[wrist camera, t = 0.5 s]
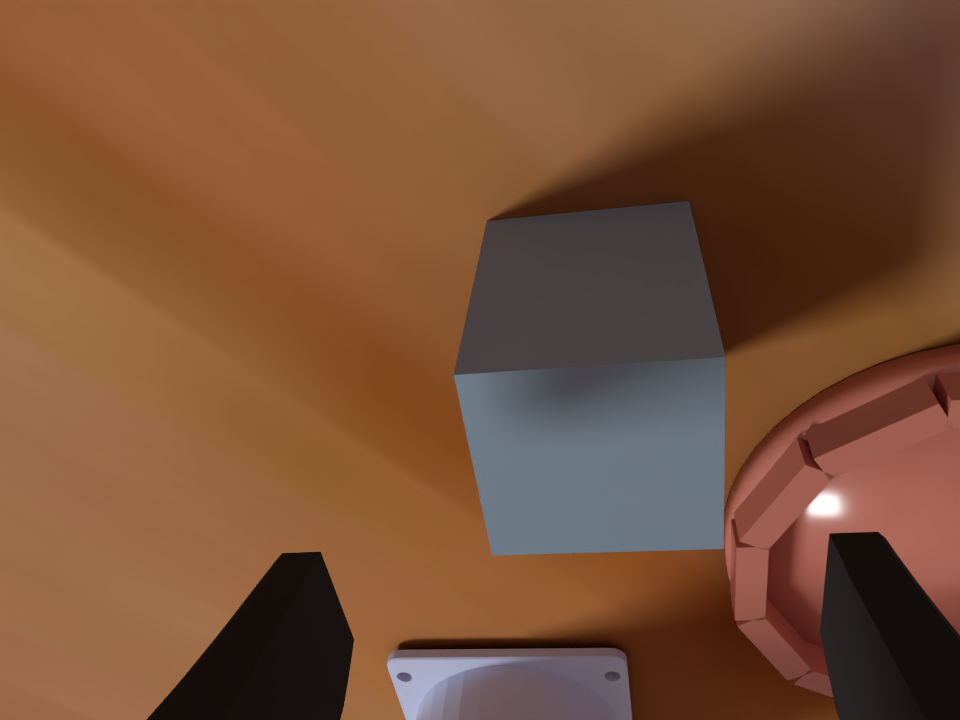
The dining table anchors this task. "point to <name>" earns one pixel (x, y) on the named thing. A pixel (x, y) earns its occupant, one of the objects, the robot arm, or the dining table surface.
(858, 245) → the dining table surface
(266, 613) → the robot arm
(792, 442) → the terracotta dish
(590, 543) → the slate block
